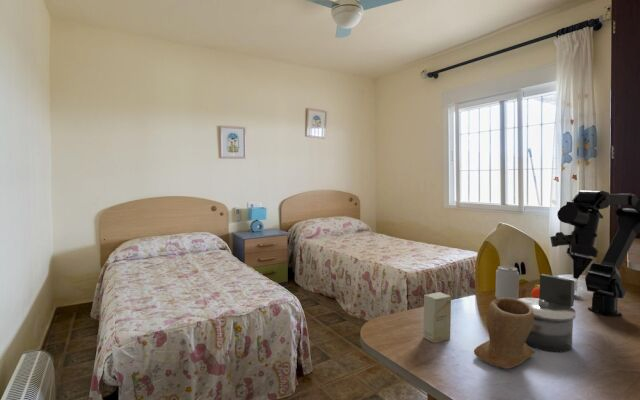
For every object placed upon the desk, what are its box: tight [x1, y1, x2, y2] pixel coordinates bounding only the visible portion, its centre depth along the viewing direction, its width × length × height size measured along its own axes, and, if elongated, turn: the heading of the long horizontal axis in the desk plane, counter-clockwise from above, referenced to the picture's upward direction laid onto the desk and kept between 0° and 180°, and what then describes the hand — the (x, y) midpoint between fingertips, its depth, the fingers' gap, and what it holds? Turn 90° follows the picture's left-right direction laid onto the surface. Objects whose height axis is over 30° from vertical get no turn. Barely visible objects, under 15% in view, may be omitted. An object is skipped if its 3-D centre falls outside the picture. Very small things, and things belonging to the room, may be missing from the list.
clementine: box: [529, 284, 540, 298], centre depth 122 cm, size 8×7×7 cm
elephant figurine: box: [554, 274, 579, 294], centre depth 134 cm, size 8×10×7 cm
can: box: [494, 265, 520, 299], centre depth 128 cm, size 8×8×12 cm
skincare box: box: [423, 291, 452, 344], centre depth 97 cm, size 6×4×12 cm
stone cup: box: [473, 297, 535, 370], centre depth 85 cm, size 15×12×15 cm
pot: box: [525, 318, 574, 353], centre depth 98 cm, size 13×20×8 cm, turn 31°
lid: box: [518, 273, 577, 321], centre depth 95 cm, size 14×14×8 cm
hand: (575, 278), depth 109 cm, fingers closed
